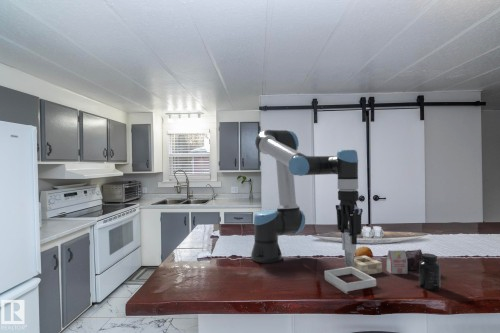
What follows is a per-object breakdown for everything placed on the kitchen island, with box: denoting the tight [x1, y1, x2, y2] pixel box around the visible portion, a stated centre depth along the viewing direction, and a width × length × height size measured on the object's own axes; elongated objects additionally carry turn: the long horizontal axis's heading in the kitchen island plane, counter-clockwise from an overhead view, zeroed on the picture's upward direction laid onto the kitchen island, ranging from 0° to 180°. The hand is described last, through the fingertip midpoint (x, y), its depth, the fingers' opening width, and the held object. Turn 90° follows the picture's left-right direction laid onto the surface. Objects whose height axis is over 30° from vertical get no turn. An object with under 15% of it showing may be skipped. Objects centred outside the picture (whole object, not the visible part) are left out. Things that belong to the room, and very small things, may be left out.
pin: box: [344, 227, 355, 267], centre depth 112 cm, size 4×4×14 cm
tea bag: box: [386, 249, 409, 275], centre depth 120 cm, size 4×7×10 cm, turn 90°
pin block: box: [346, 256, 383, 275], centre depth 124 cm, size 10×10×5 cm
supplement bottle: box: [418, 252, 441, 292], centre depth 107 cm, size 7×7×12 cm
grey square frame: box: [324, 266, 377, 295], centre depth 112 cm, size 14×13×4 cm
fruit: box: [354, 245, 373, 258], centre depth 137 cm, size 8×8×8 cm
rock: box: [405, 249, 423, 272], centre depth 125 cm, size 12×9×10 cm
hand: (349, 250), depth 111 cm, fingers closed on pin, 3 cm apart
